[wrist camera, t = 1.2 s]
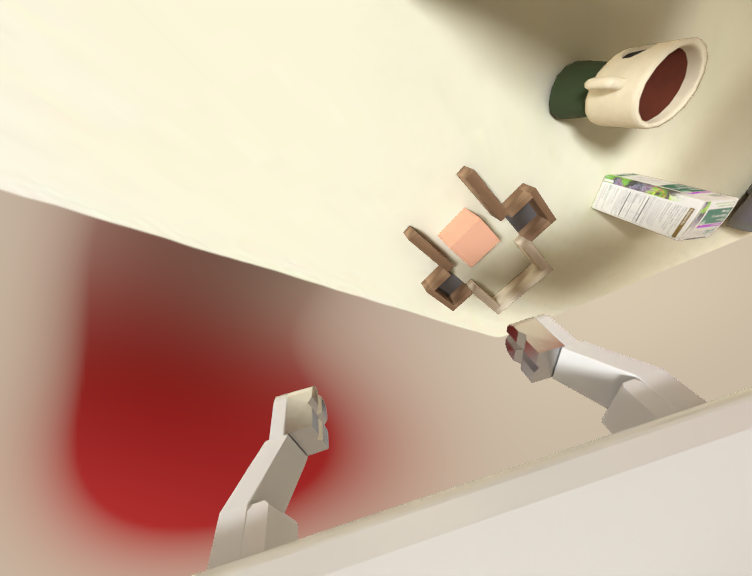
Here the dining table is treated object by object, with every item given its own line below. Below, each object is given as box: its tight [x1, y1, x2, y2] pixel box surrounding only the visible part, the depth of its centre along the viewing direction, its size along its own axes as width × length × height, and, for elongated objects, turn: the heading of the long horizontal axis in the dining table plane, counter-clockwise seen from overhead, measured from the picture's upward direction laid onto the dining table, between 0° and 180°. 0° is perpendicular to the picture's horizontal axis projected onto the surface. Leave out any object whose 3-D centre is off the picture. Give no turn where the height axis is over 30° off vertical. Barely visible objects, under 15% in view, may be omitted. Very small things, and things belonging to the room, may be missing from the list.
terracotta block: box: [438, 208, 500, 267], centre depth 43 cm, size 6×6×5 cm
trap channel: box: [403, 166, 556, 314], centre depth 47 cm, size 23×28×3 cm
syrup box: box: [592, 173, 739, 241], centre depth 41 cm, size 6×6×14 cm
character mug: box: [549, 38, 708, 129], centre depth 31 cm, size 11×7×13 cm, turn 85°
